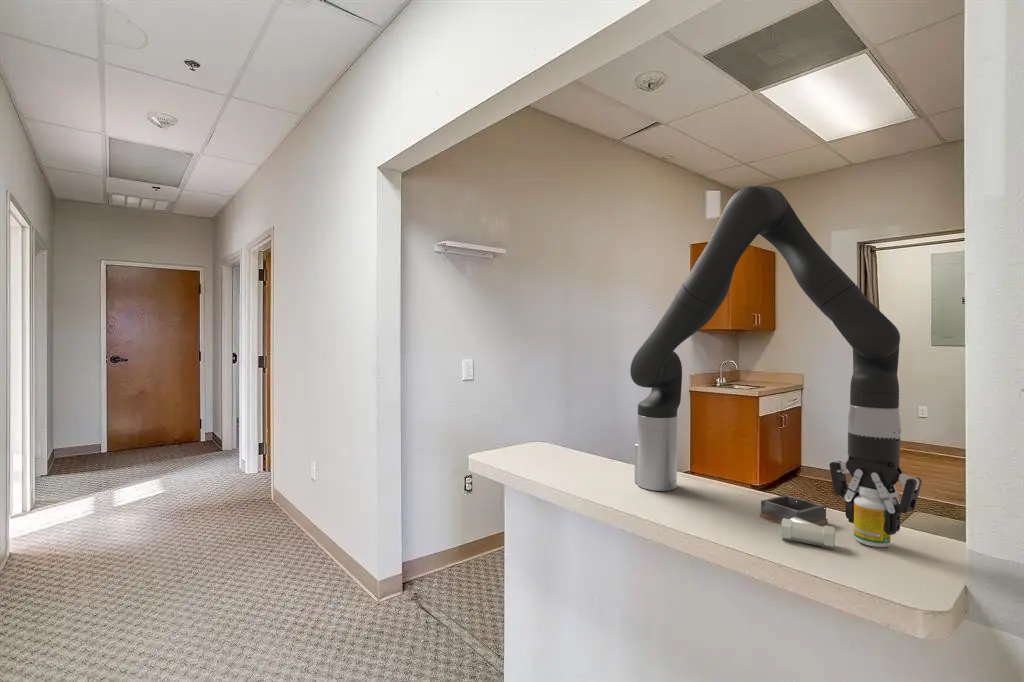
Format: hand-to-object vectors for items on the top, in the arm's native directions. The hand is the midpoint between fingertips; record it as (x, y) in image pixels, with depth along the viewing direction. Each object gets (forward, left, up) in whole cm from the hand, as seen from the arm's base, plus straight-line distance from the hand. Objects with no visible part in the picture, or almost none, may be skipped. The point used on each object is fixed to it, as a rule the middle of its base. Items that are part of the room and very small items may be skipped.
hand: (871, 527), depth 90 cm
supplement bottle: (0, 0, -3) cm, 3 cm away
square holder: (-14, -1, -3) cm, 14 cm away
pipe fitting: (-6, -8, -3) cm, 11 cm away
